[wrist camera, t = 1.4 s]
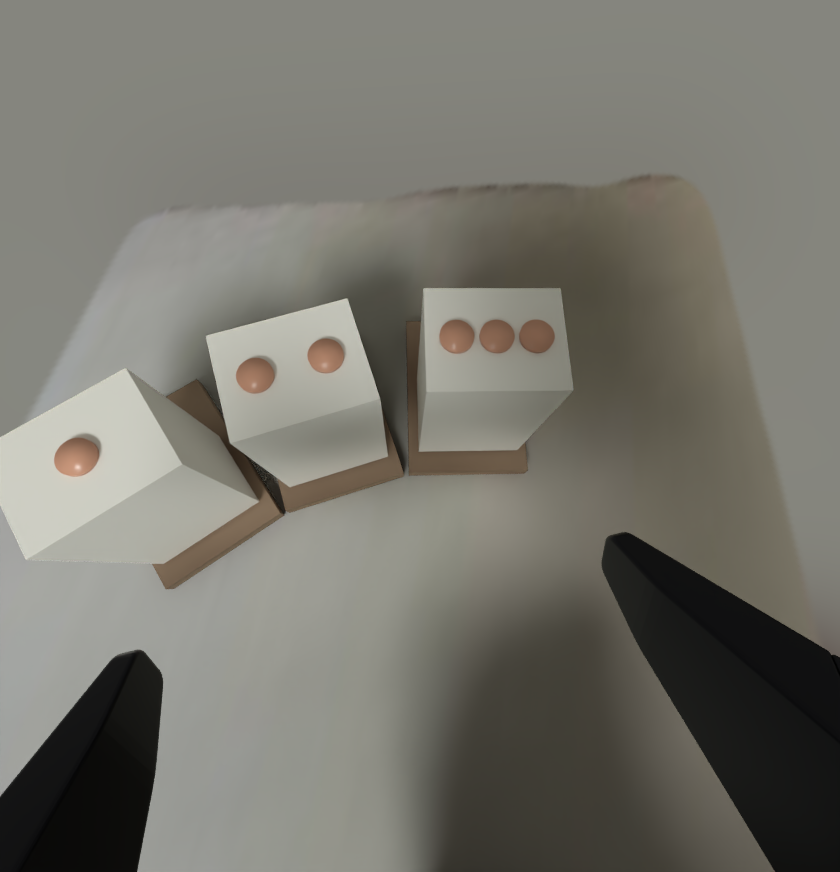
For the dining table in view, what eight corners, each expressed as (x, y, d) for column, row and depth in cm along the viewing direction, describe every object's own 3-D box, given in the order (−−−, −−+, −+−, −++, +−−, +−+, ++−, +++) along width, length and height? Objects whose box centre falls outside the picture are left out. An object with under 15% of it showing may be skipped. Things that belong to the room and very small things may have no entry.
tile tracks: (526, 329, 26) (529, 322, 26) (521, 617, 22) (525, 619, 21) (141, 295, 26) (133, 286, 25) (58, 579, 22) (45, 579, 21)
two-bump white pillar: (387, 456, 23) (380, 396, 15) (289, 487, 22) (227, 441, 14) (365, 385, 24) (346, 295, 16) (270, 413, 23) (202, 332, 15)
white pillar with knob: (259, 501, 22) (179, 462, 14) (163, 563, 21) (20, 559, 13) (218, 436, 23) (122, 365, 15) (125, 493, 22) (-31, 449, 14)
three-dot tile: (517, 450, 23) (576, 388, 15) (418, 451, 23) (426, 389, 15) (510, 377, 24) (562, 285, 16) (416, 378, 24) (423, 284, 16)
